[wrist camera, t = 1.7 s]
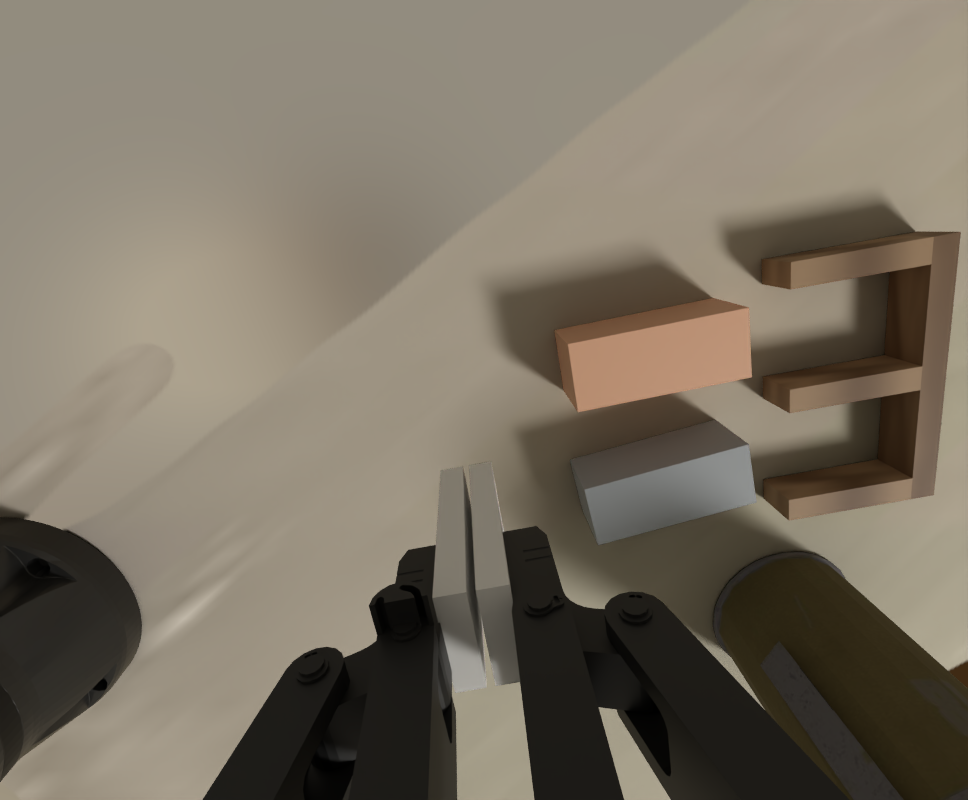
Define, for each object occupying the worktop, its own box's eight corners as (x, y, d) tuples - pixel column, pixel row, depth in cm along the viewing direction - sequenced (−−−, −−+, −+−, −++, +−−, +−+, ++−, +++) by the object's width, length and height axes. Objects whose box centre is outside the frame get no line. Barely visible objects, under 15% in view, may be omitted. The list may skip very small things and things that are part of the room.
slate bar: (582, 509, 37) (598, 545, 33) (569, 458, 36) (584, 489, 32) (721, 470, 37) (756, 502, 33) (713, 418, 36) (748, 444, 32)
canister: (875, 580, 40) (1250, 895, 21) (794, 681, 43) (1063, 1042, 24) (758, 528, 38) (1055, 822, 19) (681, 637, 41) (876, 990, 22)
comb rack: (763, 498, 38) (788, 520, 35) (761, 259, 33) (790, 262, 30) (897, 474, 38) (933, 495, 35) (916, 231, 32) (960, 231, 30)
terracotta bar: (563, 389, 35) (578, 412, 30) (553, 329, 33) (567, 344, 29) (715, 358, 35) (751, 377, 30) (711, 297, 33) (749, 307, 29)
